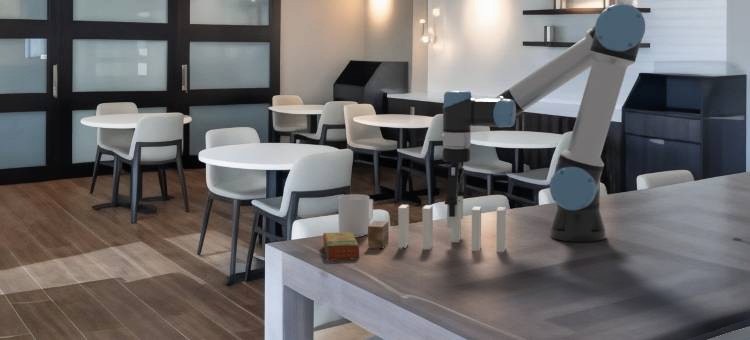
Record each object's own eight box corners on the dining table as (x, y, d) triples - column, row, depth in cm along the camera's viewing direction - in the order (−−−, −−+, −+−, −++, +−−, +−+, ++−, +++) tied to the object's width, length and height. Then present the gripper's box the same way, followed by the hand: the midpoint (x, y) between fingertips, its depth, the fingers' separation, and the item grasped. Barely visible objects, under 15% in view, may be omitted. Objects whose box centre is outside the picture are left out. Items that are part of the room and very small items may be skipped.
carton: (353, 246, 235) (353, 231, 235) (360, 260, 220) (360, 244, 219) (323, 247, 234) (322, 232, 234) (327, 261, 218) (327, 245, 218)
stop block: (388, 242, 238) (388, 221, 238) (382, 248, 231) (382, 226, 230) (374, 242, 239) (374, 220, 238) (368, 248, 231) (367, 226, 231)
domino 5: (505, 248, 230) (505, 207, 229) (504, 252, 225) (504, 210, 224) (497, 247, 231) (498, 207, 229) (496, 251, 226) (496, 210, 224)
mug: (354, 239, 243) (354, 200, 241) (332, 235, 249) (331, 197, 247) (383, 232, 252) (382, 195, 250) (361, 229, 258) (360, 192, 256)
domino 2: (432, 245, 234) (432, 205, 233) (430, 249, 229) (429, 208, 228) (425, 245, 235) (425, 205, 233) (422, 249, 230) (422, 208, 228)
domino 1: (409, 244, 236) (408, 204, 234) (405, 248, 231) (405, 208, 229) (401, 244, 236) (401, 204, 235) (398, 248, 231) (398, 207, 230)
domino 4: (480, 247, 232) (481, 206, 230) (479, 251, 227) (479, 209, 225) (473, 246, 232) (473, 206, 230) (471, 251, 227) (471, 209, 226)
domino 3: (460, 238, 243) (460, 199, 241) (458, 242, 238) (458, 202, 236) (453, 238, 243) (453, 199, 242) (451, 242, 238) (451, 202, 237)
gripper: (448, 142, 250) (447, 214, 253) (436, 151, 226) (435, 231, 229) (474, 142, 248) (473, 215, 251) (465, 152, 224) (463, 232, 227)
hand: (455, 223), depth 240 cm, fingers open, 13 cm apart
